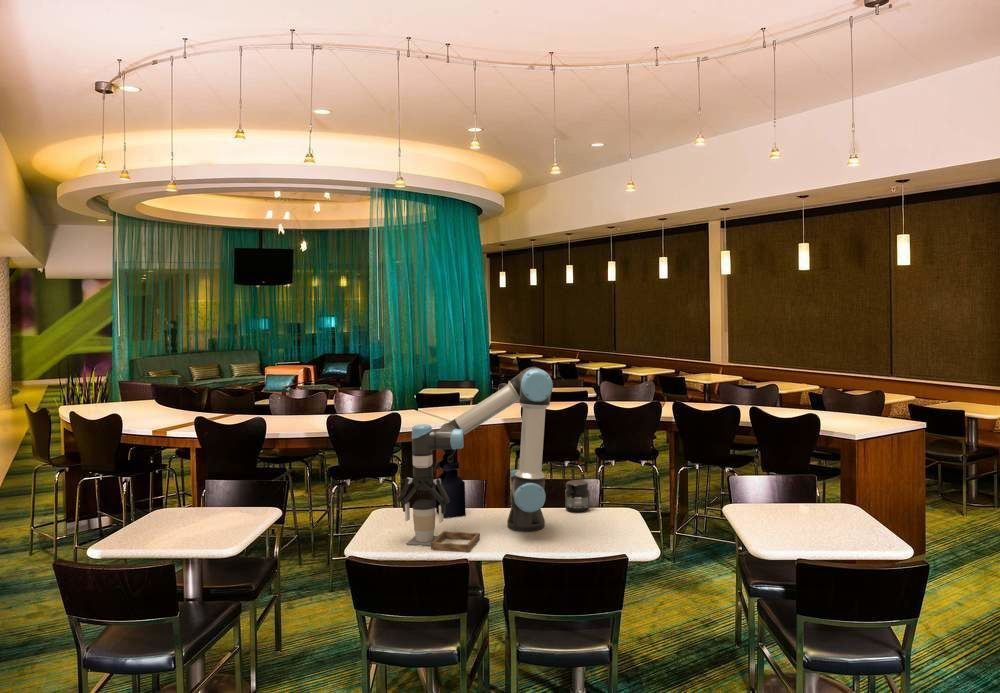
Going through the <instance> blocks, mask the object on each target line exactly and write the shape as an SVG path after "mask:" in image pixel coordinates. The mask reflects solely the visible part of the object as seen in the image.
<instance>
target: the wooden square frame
mask: <svg viewBox="0 0 1000 693" xmlns="http://www.w3.org/2000/svg"><path fill="white" fill-rule="evenodd" d="M480 534H481V533H480V532H479V533H478V532H463V531H448V530H447V531H446V530H443V531H442V532H441V533H440V534H439V535H437V536H438V537H437V538H436V539H435V540H434V541H433V542H432V543H431V546H430V550H431V549H433V550H432V551H443V552H444V551H445V552H446V551H447V552H460V553H470V552H471V551H472V549H473V548H474V547H475V546H476V545H477V544H478V542H479V541H480V540H481V535H480ZM446 539H447V540H463V541H465V540H466V541H468V542H467V544H466V543H453V542H452V543H451V542H444V541H445V540H446ZM476 543H477V544H476Z"/></svg>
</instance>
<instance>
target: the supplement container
mask: <svg viewBox="0 0 1000 693" xmlns="http://www.w3.org/2000/svg"><path fill="white" fill-rule="evenodd" d="M565 488H566V489H565V490H564V493H565V494H564V495H565V507H564V508H565V510H566V511H567V512H569V513H572V514H573V513H575V514H580V513H586V512H588V511H590V489H589V482H588V481H586V480H581V479H580V480H579V479H575V480H569V481H567V482H565Z"/></svg>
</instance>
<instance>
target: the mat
mask: <svg viewBox="0 0 1000 693" xmlns="http://www.w3.org/2000/svg"><path fill="white" fill-rule="evenodd" d="M438 536H439V535H434V540H435V539H436V538H437V537H438ZM434 540H433V541H434ZM433 541H430V542H418V541H416V537H415V535H414V536H413V537H412V538H411V539H409V540H408V541H407V542H406V543H405V545H406V544H407V545H406V546H417V545H422V546H421V547H431V543H432V542H433ZM408 544H409V545H408Z"/></svg>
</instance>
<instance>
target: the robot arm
mask: <svg viewBox="0 0 1000 693" xmlns="http://www.w3.org/2000/svg"><path fill="white" fill-rule="evenodd" d="M553 384H554V383H553V380H552V377H551V376H550V374H549V373H548V372H547V371H545V370H544V369H541V368H540V367H538V366H537V367H536V366H530V367H527V368H525V369H523V370H522V371H520V373H518V374H517V375H516V376H514V377H513V378H512V379H510V380H508V383H507V385H505V386H504V387H502V388H500V389H499V390H497V391H496V392H495V393H492V394H491V395H489V396H488V397H487V398H485V399H483V400H481V401H480V402H478V403H477V404H475V405H474V406H472V407H471V408H470V409H467V411H464V412H463V413H461V414H460V415H458V416H457V417H455V418H454V419H451V421H449V422H446V423H444V424H443V425H441V427H440V428H439V429H433V427H432V426H431V424H425V423H424V424H416V425H413V427H412V429H411V447H412V448H411V449H412V450H411V451H412V453H411V454H412V466H413V467H412V476H413V477H410V476H408V477H406V478H404V484H403V487H402V489H401V491H400V493H399V496H398V498H397V502H399V503H401V504H402V511H403V513H404V514H405V515H404V516H405V517H404V518H405V519H404V520H405V522H408V521H410V519H411V516H410V515H411V513H410V502H409V500H410V499H411V498H412V496H413V495H414V494H415V493H416V491H417V490H418V491H424V492H425V491H428V492H429V493H431V494H432V496H433V497H434V499H435V500H436V499H437V501H438V502H439V503H440V505H439V515H438V523H439V524H441V523H443V522H444V519H443V514H444V513H445V505H446V504H448V503H449V502H450V499H449V497H448V495H447V493H446V491H445V489H444V487H443V485H442V481H441V478H439V479H436V478H434V466H433V464H434V463H433V451H437V450H440V451H441V450H442V449H454V450H455V449H456V450H459V449H460V450H461V449H463V448H464V436H465V435H466V434H468V433H470V432H471V431H473V430H475V429H476V428H478V427H480V426H481V425H482V424H484V423H485V422H487V421H488V420H491V419H492V418H493V417H495V416H497V415H498V414H500V413H501V412H503V411H504V410H506V409H507V408H509V407H510V406H512V405H514V404H516V403H517V402H519V405H520V406H521V407H522V420H521V421H522V422H521V433H520V434H521V435H520V449H519V450H520V452H519V464H518V465H519V466H518V469H513V470H511V471H510V477H509V478H510V502H511V503H510V506H511V507H510V511H509V514H508V518H507V522H506V523H507V524H506V526H507V528H508V529H509V530H511V531H514V532H516V531H517V532H524V533H525V532H535V531H540V530H542V529H544V528H545V526H546V522H545V518H544V514H543V511H542V508H543V506H544V504H545V502H546V497H547V494H546V492H545V491H546V490H545V484H546V474H544V472H542V471H543V470H542V469H543V468H542V467H543V451H544V440H545V439H544V438H545V424H546V423H545V422H546V420H545V419H546V410H547V408H548V407H549V406H550V404H551V394H552V392H553V389H554V388H553ZM412 483H413V485H414V486H413V487H412V489H411V490H410V491H409V492H408V494H407V495H406V493H407V491H408V489H409V487H410V484H412ZM434 484H435V485H434ZM436 485H437V487H438V489H439V491H440V494H441V496H442V497H441V496H440V494H439V493H438V492H437V491H436ZM405 495H406V496H405Z"/></svg>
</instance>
